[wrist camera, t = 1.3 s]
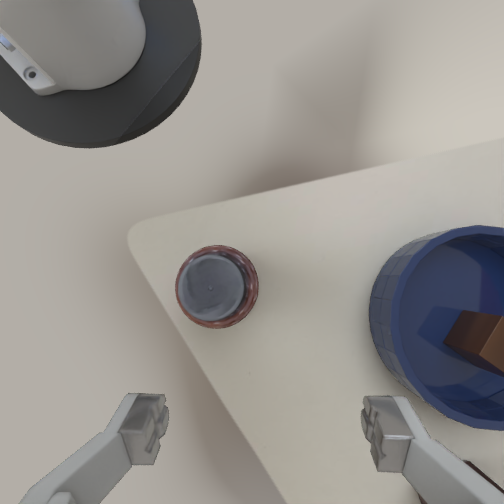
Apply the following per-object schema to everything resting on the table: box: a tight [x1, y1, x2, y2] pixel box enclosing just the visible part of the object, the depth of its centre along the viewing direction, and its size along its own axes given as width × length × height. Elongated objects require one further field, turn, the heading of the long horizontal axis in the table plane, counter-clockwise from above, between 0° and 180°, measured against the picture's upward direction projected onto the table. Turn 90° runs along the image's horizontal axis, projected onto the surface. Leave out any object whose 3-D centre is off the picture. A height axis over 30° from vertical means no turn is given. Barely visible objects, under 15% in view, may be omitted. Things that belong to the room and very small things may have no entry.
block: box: [443, 310, 504, 377], centre depth 23 cm, size 4×4×4 cm
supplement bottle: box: [175, 245, 258, 329], centre depth 20 cm, size 6×6×11 cm
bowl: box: [369, 225, 504, 431], centre depth 24 cm, size 18×18×4 cm
